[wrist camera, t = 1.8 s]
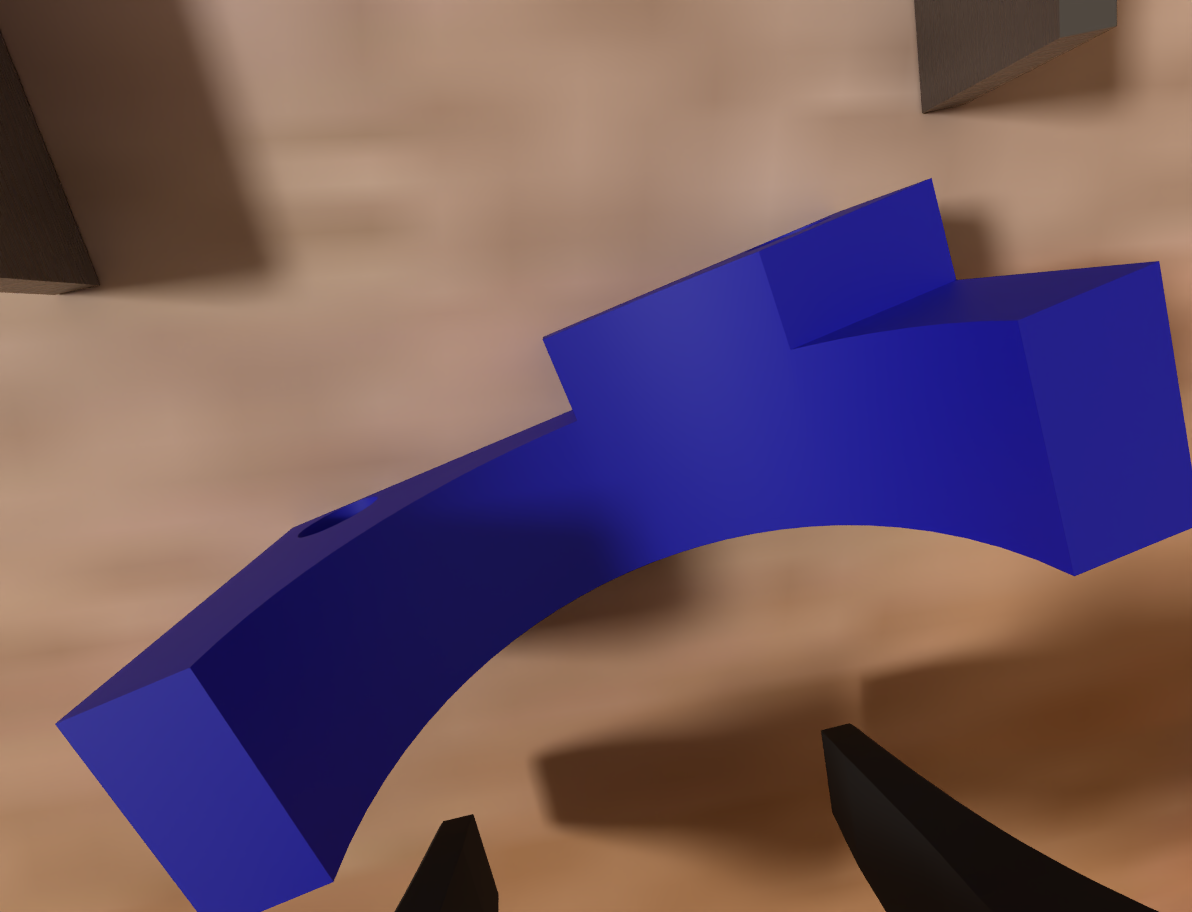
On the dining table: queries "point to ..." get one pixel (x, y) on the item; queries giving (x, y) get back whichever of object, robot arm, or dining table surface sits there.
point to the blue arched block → (645, 513)
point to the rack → (947, 78)
